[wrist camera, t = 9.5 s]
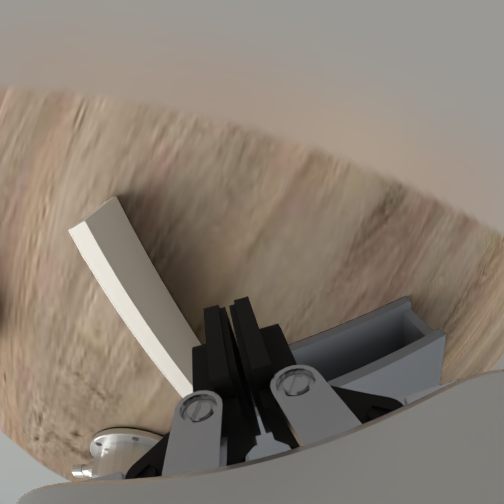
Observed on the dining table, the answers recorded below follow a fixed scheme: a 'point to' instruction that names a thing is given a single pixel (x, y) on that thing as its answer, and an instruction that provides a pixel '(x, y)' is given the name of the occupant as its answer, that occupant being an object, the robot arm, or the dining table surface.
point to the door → (137, 291)
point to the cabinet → (370, 359)
